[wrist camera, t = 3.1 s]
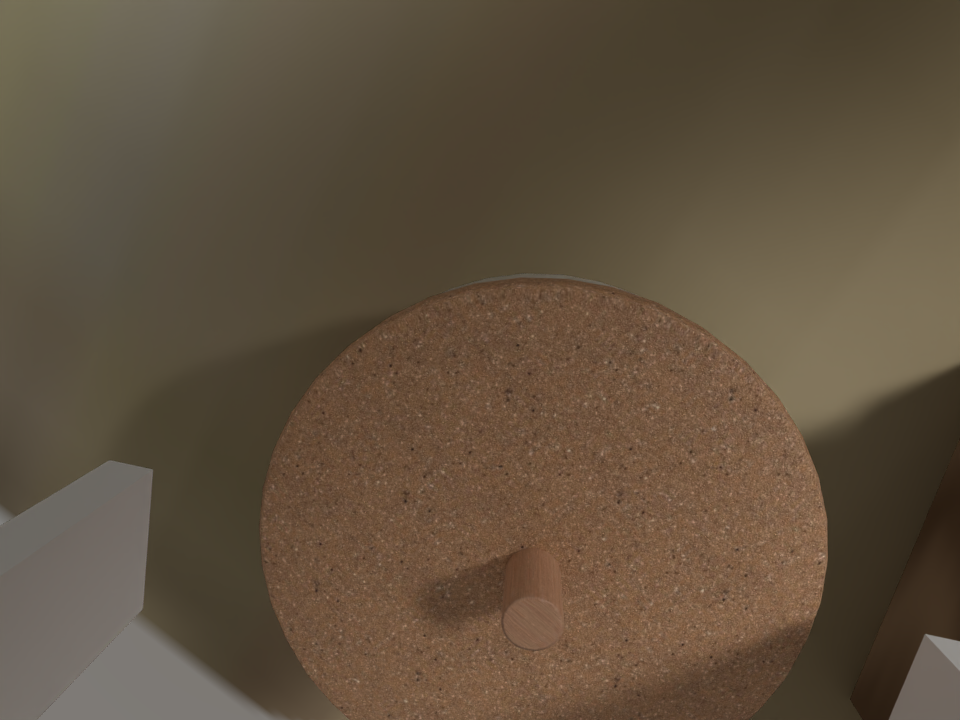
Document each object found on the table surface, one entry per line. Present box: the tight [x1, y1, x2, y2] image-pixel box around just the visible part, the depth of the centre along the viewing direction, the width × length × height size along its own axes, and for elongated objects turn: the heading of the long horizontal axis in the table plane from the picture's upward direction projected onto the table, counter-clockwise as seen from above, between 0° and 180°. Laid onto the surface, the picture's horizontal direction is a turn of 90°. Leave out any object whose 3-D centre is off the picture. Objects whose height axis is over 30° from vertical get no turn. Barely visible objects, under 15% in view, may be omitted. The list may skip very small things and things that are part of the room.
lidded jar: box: [259, 273, 828, 720], centre depth 15 cm, size 11×11×9 cm
